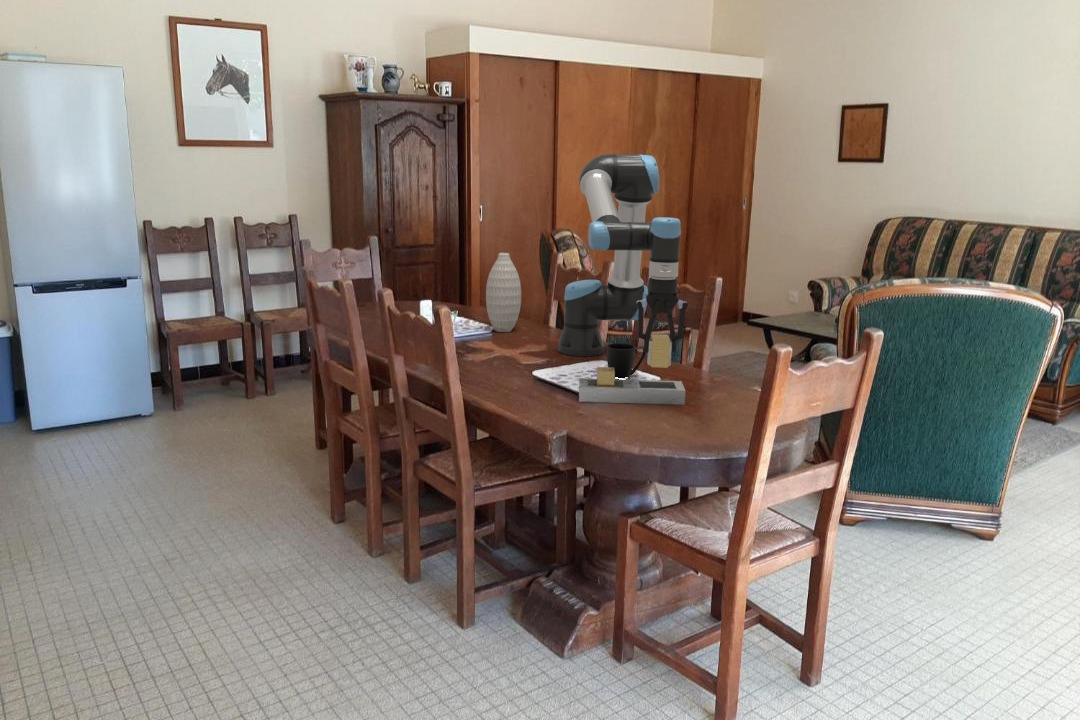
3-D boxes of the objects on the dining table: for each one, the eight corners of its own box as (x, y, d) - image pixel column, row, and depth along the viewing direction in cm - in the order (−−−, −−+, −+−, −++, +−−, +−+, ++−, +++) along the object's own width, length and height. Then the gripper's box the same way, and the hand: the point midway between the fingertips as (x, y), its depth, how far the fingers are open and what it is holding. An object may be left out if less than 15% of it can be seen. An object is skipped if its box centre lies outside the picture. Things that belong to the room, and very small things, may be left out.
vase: (506, 325, 322) (507, 250, 315) (527, 331, 312) (528, 254, 306) (478, 329, 314) (479, 252, 307) (499, 335, 305) (500, 256, 298)
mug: (650, 379, 252) (651, 348, 249) (611, 381, 248) (612, 350, 246) (639, 372, 259) (640, 341, 257) (601, 374, 256) (603, 343, 254)
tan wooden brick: (596, 395, 235) (597, 367, 233) (612, 395, 235) (613, 367, 233) (596, 400, 231) (597, 371, 229) (613, 400, 231) (614, 371, 229)
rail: (578, 392, 237) (579, 378, 236) (680, 395, 236) (681, 381, 236) (579, 401, 229) (579, 387, 228) (684, 404, 228) (685, 390, 227)
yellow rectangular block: (649, 363, 232) (651, 334, 230) (666, 363, 232) (667, 334, 230) (651, 367, 227) (652, 337, 226) (668, 367, 227) (669, 338, 225)
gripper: (630, 278, 221) (626, 366, 226) (699, 280, 220) (693, 368, 226) (628, 274, 228) (625, 360, 234) (695, 276, 228) (689, 361, 233)
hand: (658, 364), depth 230 cm, fingers closed on yellow rectangular block, 4 cm apart
